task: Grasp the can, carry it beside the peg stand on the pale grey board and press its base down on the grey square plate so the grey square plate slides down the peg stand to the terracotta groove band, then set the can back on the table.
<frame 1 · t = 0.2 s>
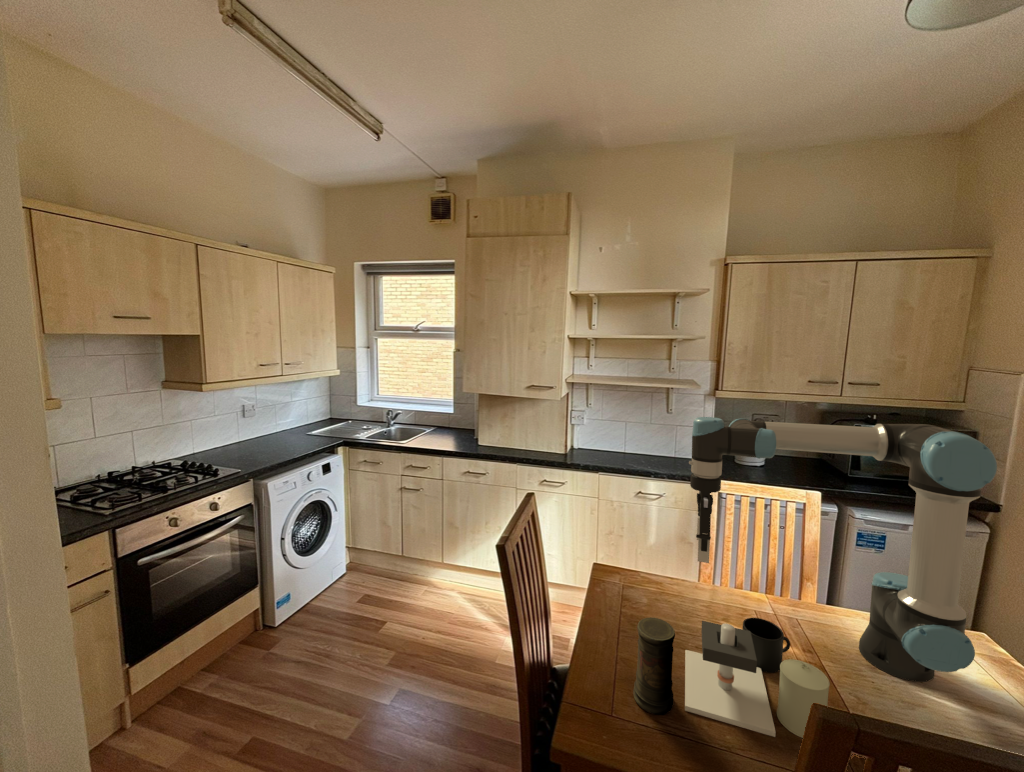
hand: (702, 550, 119), 28 cm above the table, fingers open, 13 cm apart
grey square plate: (727, 645, 104), point 12 cm above the table, slide at 0.0 cm
peg stand: (724, 690, 105), on the table
can: (800, 723, 97), on the table
container: (653, 700, 103), on the table
mug: (765, 661, 116), on the table
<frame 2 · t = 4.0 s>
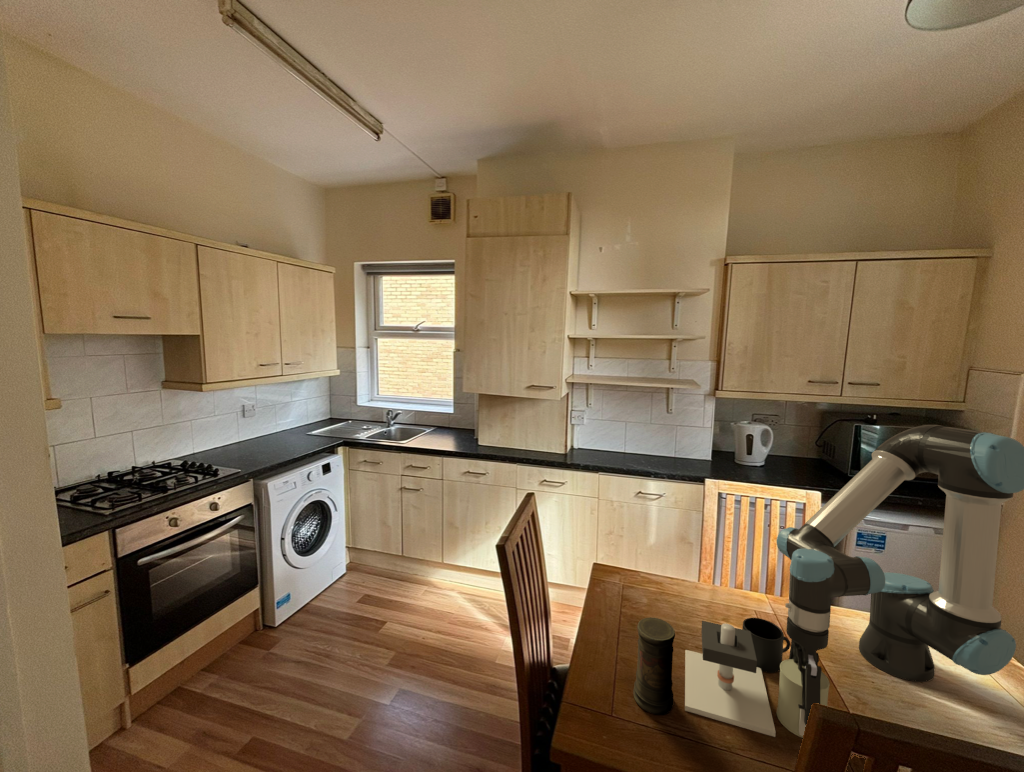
hand: (800, 717, 96), 1 cm above the table, fingers closed on can, 9 cm apart
can: (800, 722, 97), on the table, touching gripper
everything else where it was.
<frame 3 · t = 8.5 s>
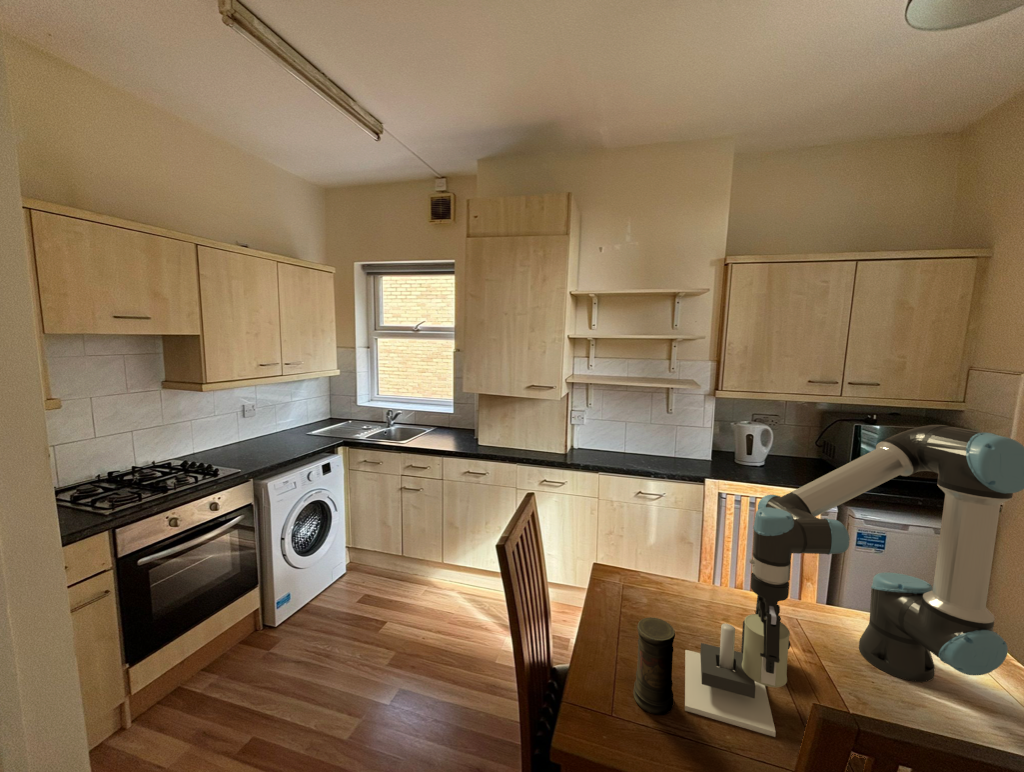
hand: (764, 668, 102), 8 cm above the table, fingers closed on can, 9 cm apart
grey square plate: (726, 668, 105), point 6 cm above the table, slide at 6.1 cm, touching can
can: (763, 673, 102), point 7 cm above the table, touching gripper, grey square plate
everything else where it was.
when the fingers open (2 cm above the table, at t = 14.2 s): can drops 1 cm, on the table.
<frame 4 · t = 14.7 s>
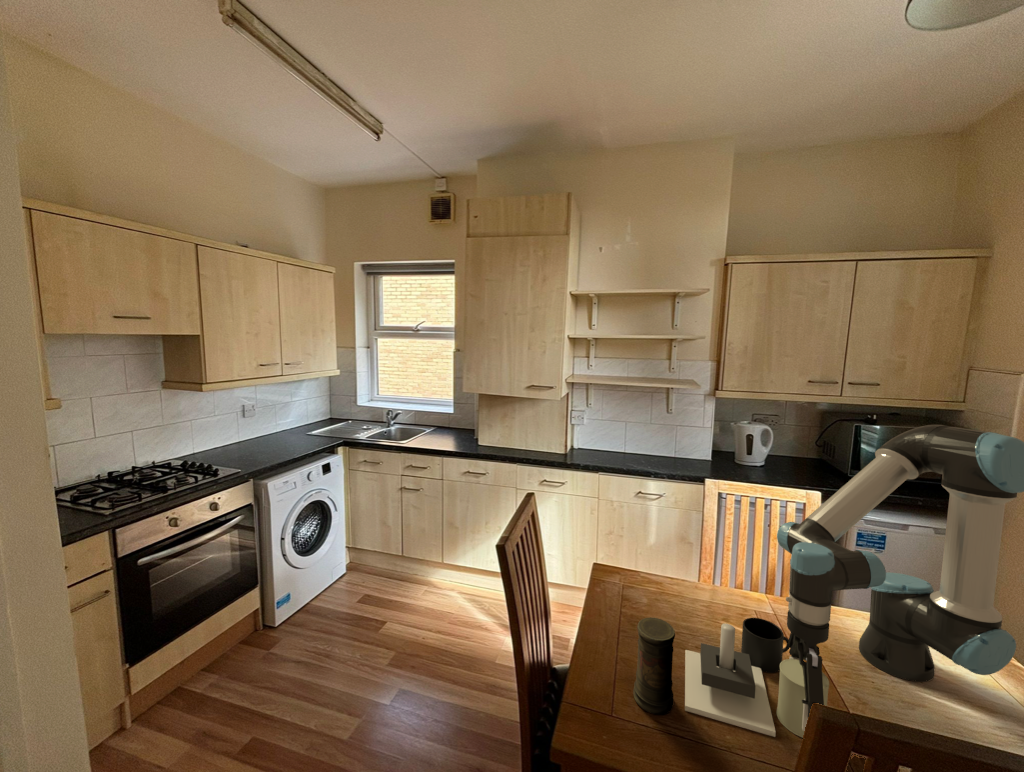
hand: (801, 706, 96), 4 cm above the table, fingers open, 13 cm apart
grey square plate: (726, 668, 105), point 6 cm above the table, slide at 6.1 cm
can: (800, 722, 97), on the table
everything else where it was.
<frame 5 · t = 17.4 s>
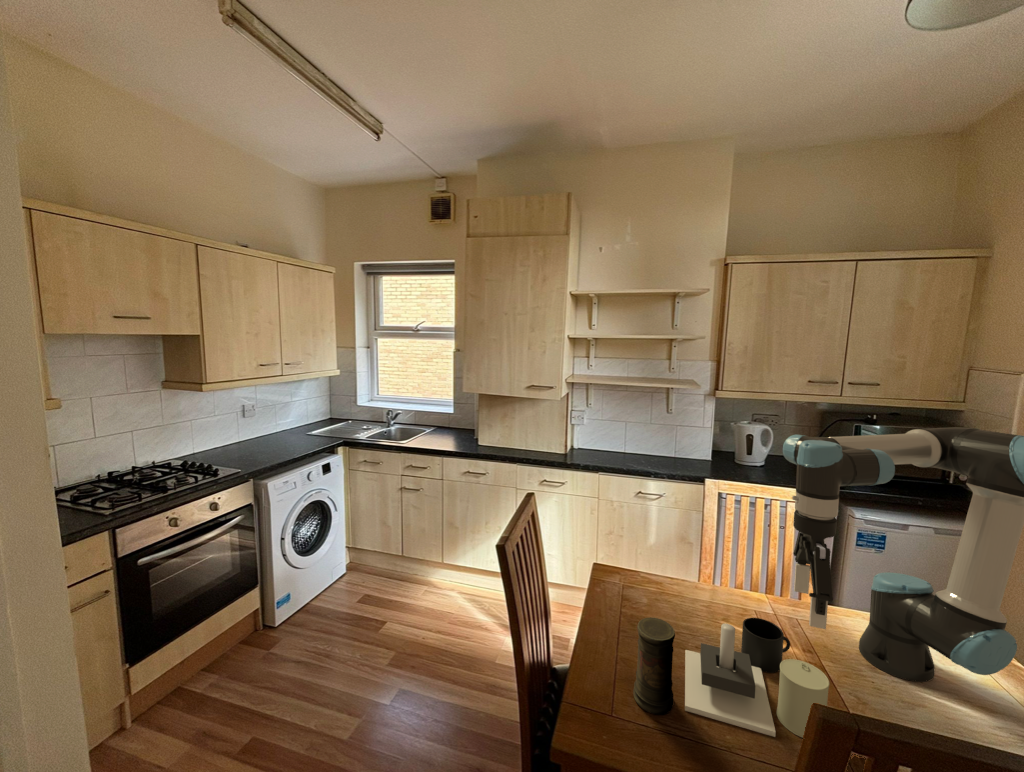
hand: (808, 608, 94), 27 cm above the table, fingers open, 13 cm apart
nothing on the table moved.
at the end: grey square plate slide at 6.1 cm; the gripper is holding nothing; can tilted 0° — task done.
